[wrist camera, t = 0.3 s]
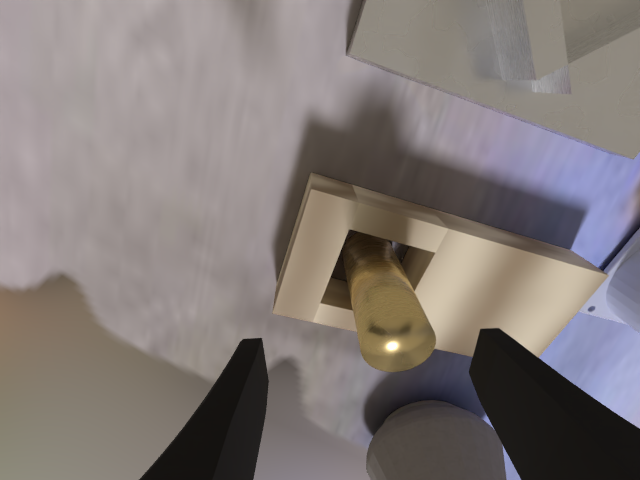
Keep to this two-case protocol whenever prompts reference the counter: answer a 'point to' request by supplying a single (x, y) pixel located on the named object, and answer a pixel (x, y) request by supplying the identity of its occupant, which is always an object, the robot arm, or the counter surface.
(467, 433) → the coffee pot
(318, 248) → the beam
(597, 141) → the v-block
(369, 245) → the axle
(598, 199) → the counter surface
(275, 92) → the counter surface
